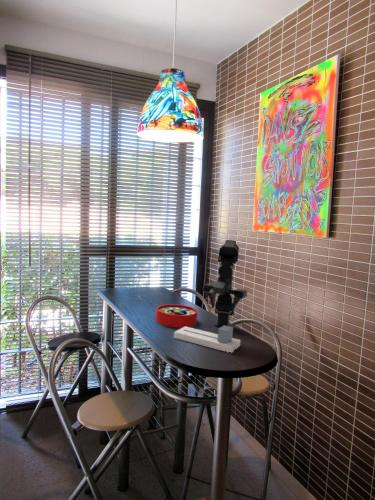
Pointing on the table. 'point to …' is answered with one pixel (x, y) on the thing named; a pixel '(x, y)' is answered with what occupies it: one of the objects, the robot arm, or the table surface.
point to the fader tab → (225, 334)
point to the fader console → (205, 339)
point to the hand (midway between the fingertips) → (222, 310)
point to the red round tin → (176, 315)
